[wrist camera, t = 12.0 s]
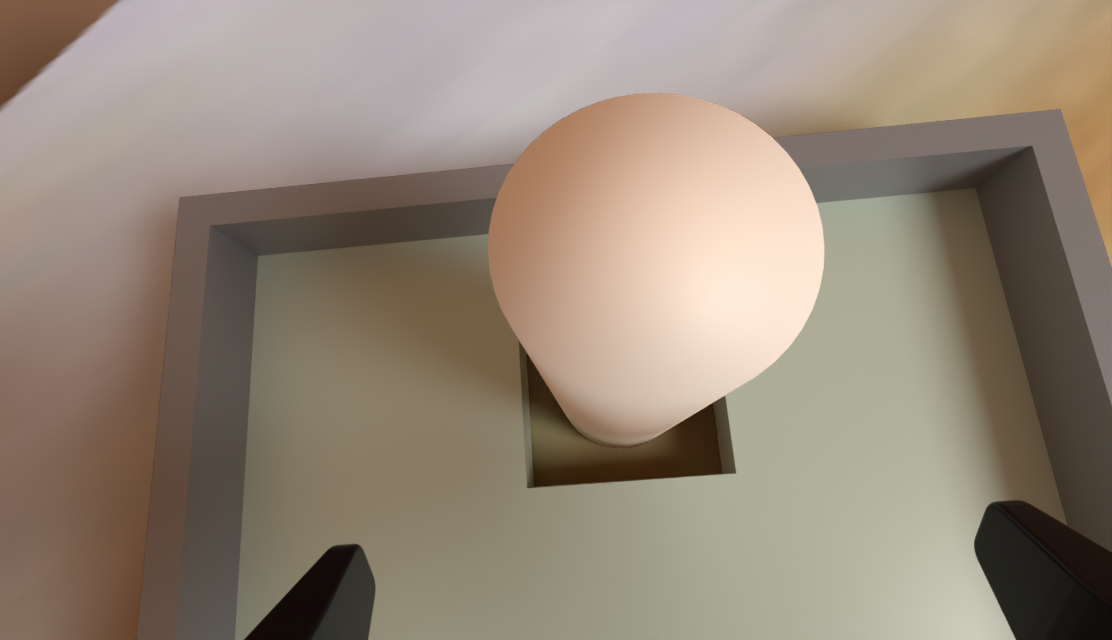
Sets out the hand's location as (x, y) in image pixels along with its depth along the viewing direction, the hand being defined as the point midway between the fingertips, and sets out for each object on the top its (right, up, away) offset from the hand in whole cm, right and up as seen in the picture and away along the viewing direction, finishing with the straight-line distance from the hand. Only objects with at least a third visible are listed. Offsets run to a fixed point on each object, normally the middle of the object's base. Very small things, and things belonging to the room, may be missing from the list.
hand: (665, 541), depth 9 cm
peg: (0, +1, +11) cm, 11 cm away
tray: (+1, -1, +10) cm, 11 cm away
